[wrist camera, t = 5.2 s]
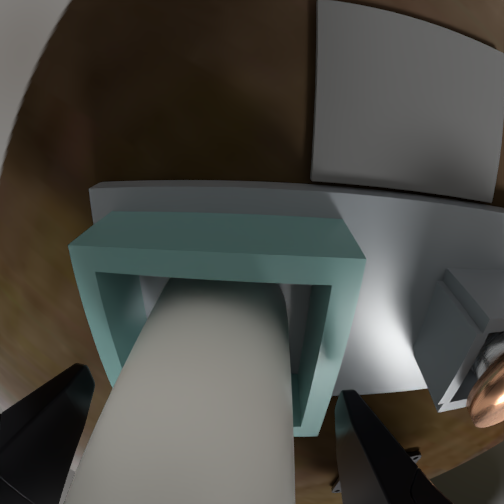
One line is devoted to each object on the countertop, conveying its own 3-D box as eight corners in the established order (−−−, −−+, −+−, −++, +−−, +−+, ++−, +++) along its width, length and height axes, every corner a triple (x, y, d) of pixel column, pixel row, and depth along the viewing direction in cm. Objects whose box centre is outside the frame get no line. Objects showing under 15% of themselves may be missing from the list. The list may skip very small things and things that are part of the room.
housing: (474, 368, 15) (503, 421, 11) (137, 367, 16) (110, 432, 11) (536, 214, 10) (594, 253, 6) (101, 182, 11) (30, 222, 7)
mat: (486, 200, 10) (491, 203, 10) (310, 178, 11) (311, 180, 10) (498, 54, 8) (504, 53, 7) (316, 2, 8) (318, -2, 8)
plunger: (479, 345, 12) (520, 414, 8) (419, 351, 13) (455, 436, 8) (508, 278, 11) (569, 344, 6) (446, 277, 11) (509, 359, 6)
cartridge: (281, 361, 13) (280, 609, 4) (170, 353, 13) (99, 578, 4) (292, 259, 11) (318, 623, 2) (154, 253, 11) (-8, 536, 2)
